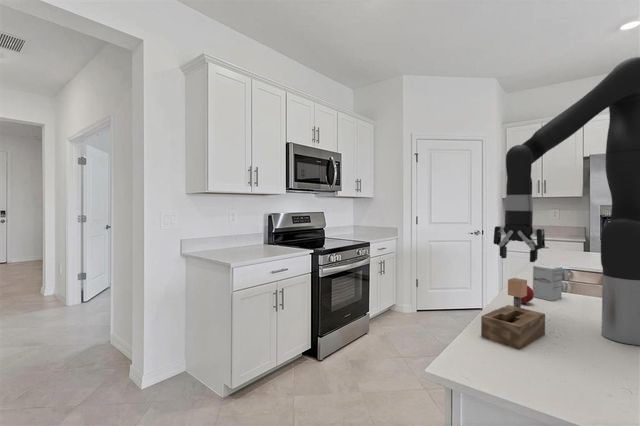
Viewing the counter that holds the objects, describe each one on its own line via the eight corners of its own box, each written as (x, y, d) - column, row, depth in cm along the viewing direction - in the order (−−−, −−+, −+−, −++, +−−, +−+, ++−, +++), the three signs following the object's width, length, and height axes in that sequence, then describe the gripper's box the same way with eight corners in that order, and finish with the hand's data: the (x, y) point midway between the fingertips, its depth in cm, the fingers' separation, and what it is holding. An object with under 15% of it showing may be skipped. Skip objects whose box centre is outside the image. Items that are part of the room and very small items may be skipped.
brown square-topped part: (526, 320, 105) (527, 280, 104) (520, 323, 102) (521, 282, 102) (513, 316, 108) (513, 277, 108) (507, 319, 106) (507, 279, 105)
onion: (532, 307, 118) (533, 285, 118) (514, 304, 121) (514, 282, 121) (534, 303, 122) (534, 281, 122) (516, 300, 126) (516, 279, 126)
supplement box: (531, 296, 130) (532, 265, 130) (542, 294, 134) (542, 263, 134) (552, 301, 124) (552, 268, 124) (562, 298, 127) (562, 266, 127)
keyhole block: (544, 334, 94) (545, 313, 93) (519, 349, 84) (519, 326, 84) (508, 324, 102) (508, 305, 102) (481, 336, 92) (481, 315, 92)
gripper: (549, 209, 100) (548, 262, 101) (501, 208, 112) (500, 255, 113) (538, 210, 96) (537, 264, 97) (490, 209, 108) (489, 258, 108)
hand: (517, 259), depth 105 cm, fingers open, 8 cm apart
